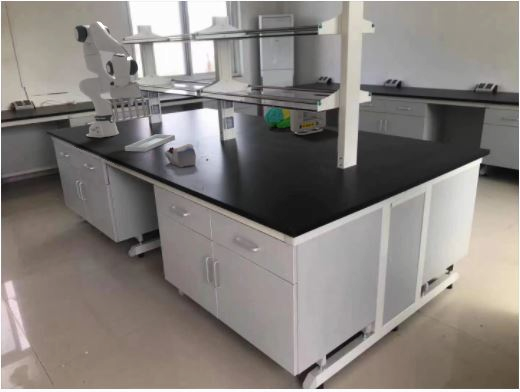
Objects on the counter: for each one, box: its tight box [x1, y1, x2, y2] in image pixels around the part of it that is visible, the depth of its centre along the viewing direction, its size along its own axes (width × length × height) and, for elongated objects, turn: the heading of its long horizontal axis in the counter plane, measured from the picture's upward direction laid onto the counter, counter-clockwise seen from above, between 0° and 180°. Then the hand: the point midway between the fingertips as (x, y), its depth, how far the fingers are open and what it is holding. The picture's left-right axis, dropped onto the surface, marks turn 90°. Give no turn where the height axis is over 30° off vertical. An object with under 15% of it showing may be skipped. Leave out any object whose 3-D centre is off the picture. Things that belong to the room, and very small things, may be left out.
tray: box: [124, 133, 176, 153], centre depth 263 cm, size 14×33×2 cm, turn 160°
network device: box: [290, 110, 327, 136], centre depth 270 cm, size 26×9×20 cm, turn 122°
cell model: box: [164, 143, 197, 168], centre depth 216 cm, size 13×11×20 cm
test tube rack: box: [107, 94, 153, 123], centre depth 261 cm, size 25×4×13 cm, turn 127°
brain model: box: [264, 107, 291, 129], centre depth 291 cm, size 24×19×15 cm
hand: (127, 105), depth 260 cm, fingers closed on test tube rack, 5 cm apart
